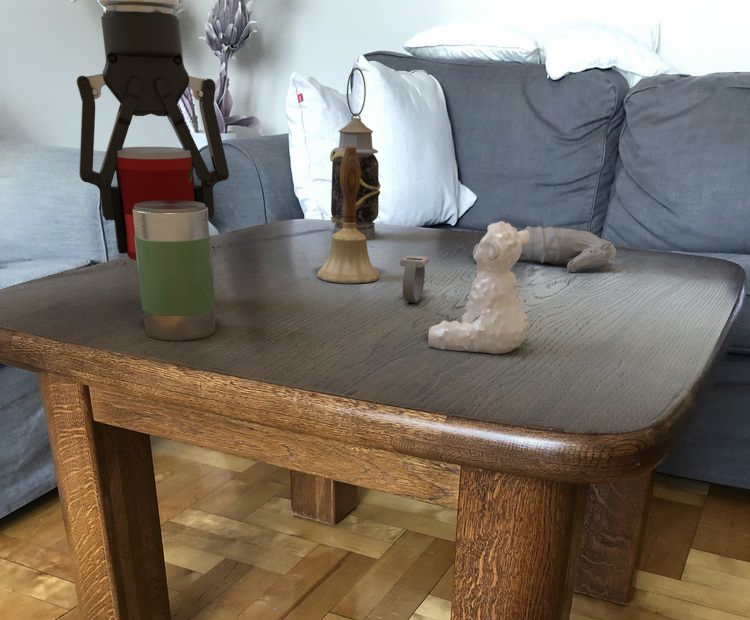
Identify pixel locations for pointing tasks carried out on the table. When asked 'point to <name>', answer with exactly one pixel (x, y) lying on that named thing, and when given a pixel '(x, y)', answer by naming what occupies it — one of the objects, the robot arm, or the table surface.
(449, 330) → the seated beast figurine
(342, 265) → the hand bell
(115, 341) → the table surface
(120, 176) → the canned food
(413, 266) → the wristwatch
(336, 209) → the lantern
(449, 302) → the table surface
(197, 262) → the tin can
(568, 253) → the seahorse
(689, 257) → the table surface
